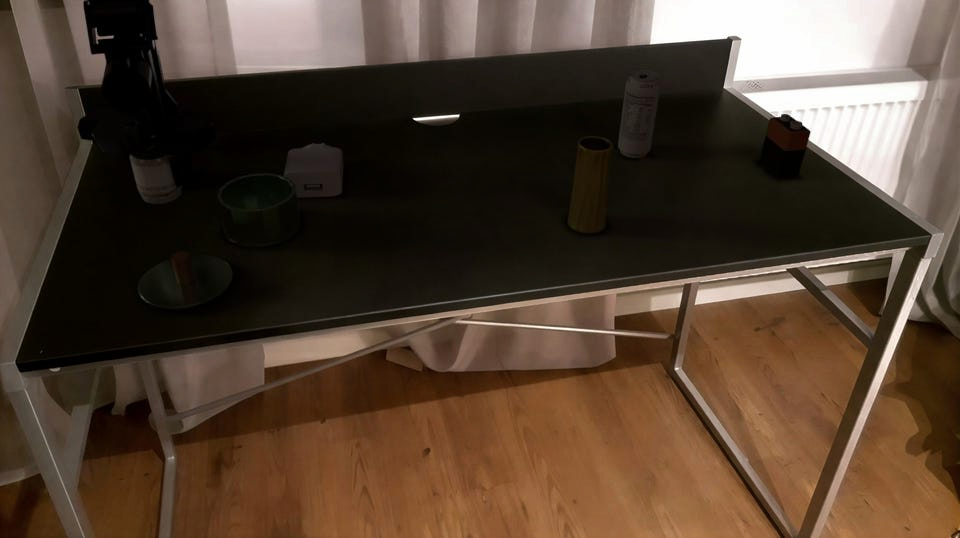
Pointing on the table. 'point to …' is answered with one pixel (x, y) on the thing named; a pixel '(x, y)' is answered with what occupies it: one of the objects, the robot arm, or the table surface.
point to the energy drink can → (639, 113)
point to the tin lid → (185, 281)
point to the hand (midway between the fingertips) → (159, 182)
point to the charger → (315, 170)
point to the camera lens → (154, 173)
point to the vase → (590, 185)
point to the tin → (259, 210)
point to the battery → (784, 146)
